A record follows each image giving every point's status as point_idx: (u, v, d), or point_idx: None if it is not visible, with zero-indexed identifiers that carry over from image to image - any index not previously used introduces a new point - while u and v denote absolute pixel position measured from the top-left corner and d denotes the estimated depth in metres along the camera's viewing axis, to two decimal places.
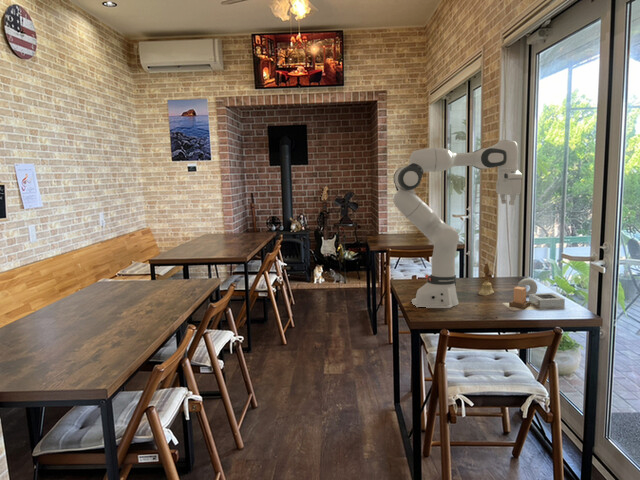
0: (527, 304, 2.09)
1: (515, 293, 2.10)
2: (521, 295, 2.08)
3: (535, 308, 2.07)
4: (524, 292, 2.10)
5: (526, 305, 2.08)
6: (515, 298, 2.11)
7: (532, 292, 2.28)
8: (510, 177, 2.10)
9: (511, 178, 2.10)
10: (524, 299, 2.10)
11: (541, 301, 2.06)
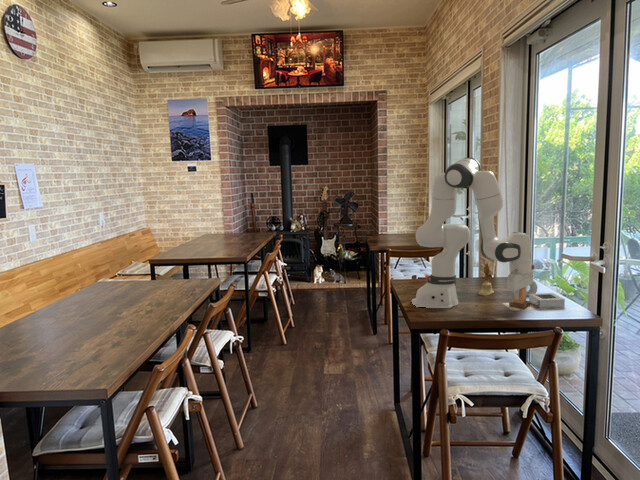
0: (527, 304, 2.09)
1: None
2: (521, 295, 2.08)
3: (535, 308, 2.07)
4: (524, 292, 2.10)
5: (526, 305, 2.08)
6: None
7: (532, 292, 2.28)
8: None
9: None
10: (524, 299, 2.10)
11: (541, 301, 2.06)
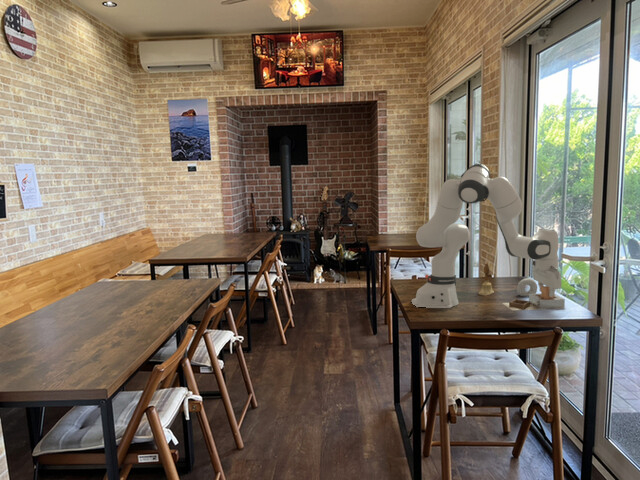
0: (527, 304, 2.09)
1: (547, 293, 2.08)
2: None
3: (535, 308, 2.07)
4: None
5: (526, 305, 2.08)
6: (547, 298, 2.08)
7: (532, 292, 2.28)
8: None
9: None
10: None
11: (541, 301, 2.06)
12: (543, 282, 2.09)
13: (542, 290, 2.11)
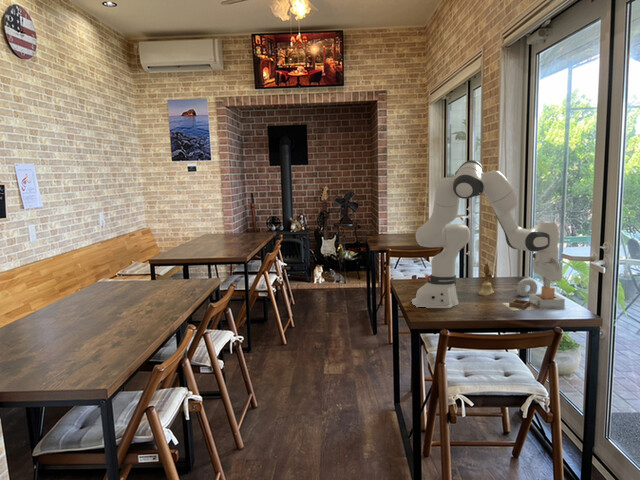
0: (527, 304, 2.09)
1: (547, 293, 2.08)
2: (553, 294, 2.08)
3: (535, 308, 2.07)
4: None
5: (526, 305, 2.08)
6: (547, 298, 2.08)
7: (532, 292, 2.28)
8: None
9: None
10: None
11: (541, 301, 2.06)
12: (543, 275, 2.09)
13: (542, 290, 2.11)
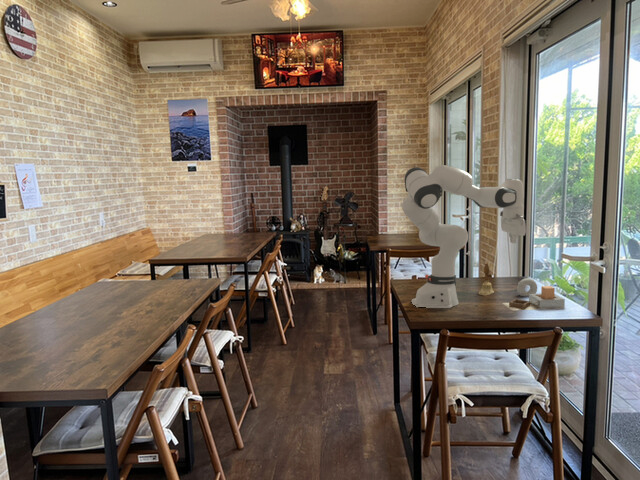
0: (527, 304, 2.09)
1: (547, 293, 2.08)
2: (553, 294, 2.08)
3: (535, 308, 2.07)
4: None
5: (526, 305, 2.08)
6: (547, 298, 2.08)
7: (532, 292, 2.28)
8: None
9: None
10: None
11: (541, 301, 2.06)
12: (510, 231, 2.17)
13: (542, 290, 2.11)
